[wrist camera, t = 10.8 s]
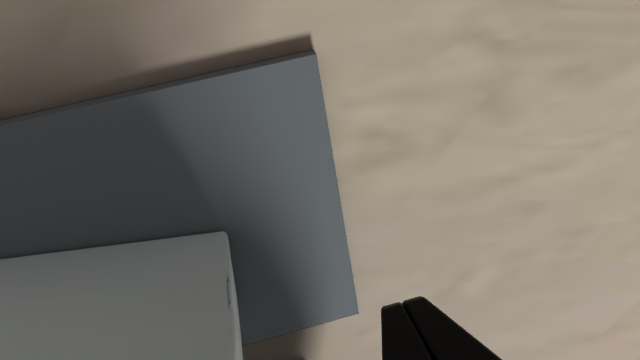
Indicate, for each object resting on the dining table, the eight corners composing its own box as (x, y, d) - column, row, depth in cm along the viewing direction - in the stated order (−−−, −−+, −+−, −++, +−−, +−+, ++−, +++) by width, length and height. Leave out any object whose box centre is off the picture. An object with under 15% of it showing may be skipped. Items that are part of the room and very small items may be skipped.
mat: (356, 305, 28) (358, 313, 28) (53, 389, 27) (50, 399, 26) (313, 49, 19) (316, 54, 19) (-147, 153, 18) (-157, 161, 17)
